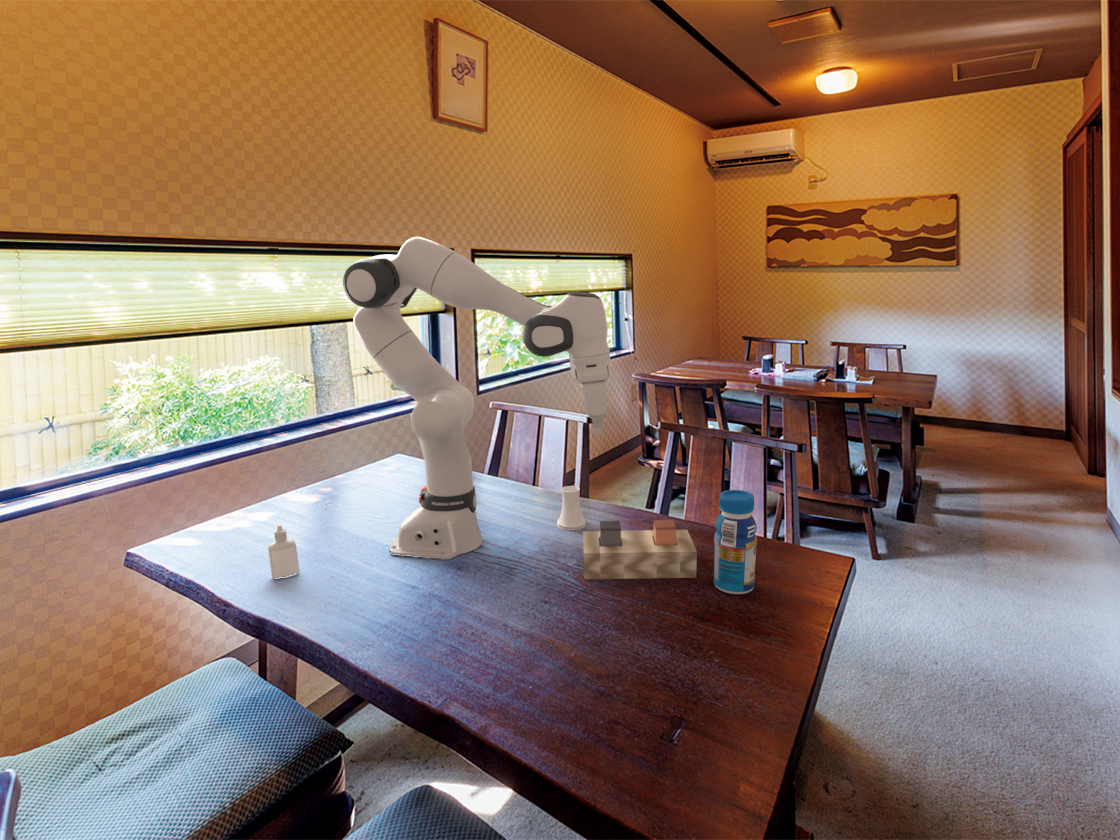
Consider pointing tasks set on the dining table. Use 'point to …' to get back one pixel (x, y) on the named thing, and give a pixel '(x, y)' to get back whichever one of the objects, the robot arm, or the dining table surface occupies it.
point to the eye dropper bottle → (283, 555)
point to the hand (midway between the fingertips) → (597, 428)
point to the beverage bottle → (735, 543)
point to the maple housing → (639, 557)
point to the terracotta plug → (664, 532)
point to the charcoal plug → (610, 533)
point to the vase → (571, 510)
